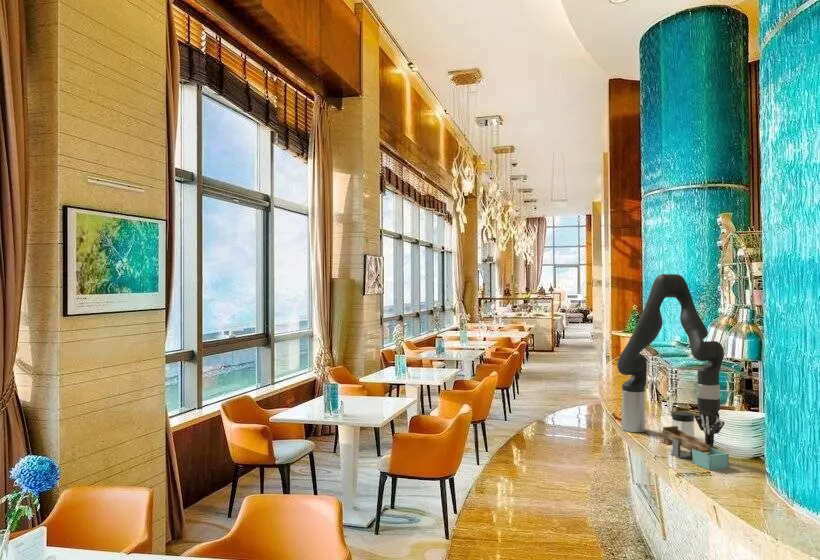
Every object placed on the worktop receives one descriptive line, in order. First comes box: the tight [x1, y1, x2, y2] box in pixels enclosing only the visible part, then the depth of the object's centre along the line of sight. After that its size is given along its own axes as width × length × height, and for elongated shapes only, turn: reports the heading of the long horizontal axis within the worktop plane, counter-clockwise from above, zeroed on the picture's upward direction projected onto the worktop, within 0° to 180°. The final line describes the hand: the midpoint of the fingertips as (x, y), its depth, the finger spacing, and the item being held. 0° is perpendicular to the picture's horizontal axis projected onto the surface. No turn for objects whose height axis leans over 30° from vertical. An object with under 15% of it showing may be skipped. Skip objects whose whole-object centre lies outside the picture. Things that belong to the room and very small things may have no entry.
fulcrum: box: [670, 437, 699, 460], centre depth 228 cm, size 5×9×6 cm, turn 105°
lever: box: [662, 425, 718, 454], centre depth 229 cm, size 18×10×6 cm, turn 15°
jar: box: [671, 410, 696, 437], centre depth 246 cm, size 9×8×12 cm
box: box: [691, 447, 730, 471], centre depth 216 cm, size 9×8×5 cm
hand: (709, 444), depth 223 cm, fingers closed
